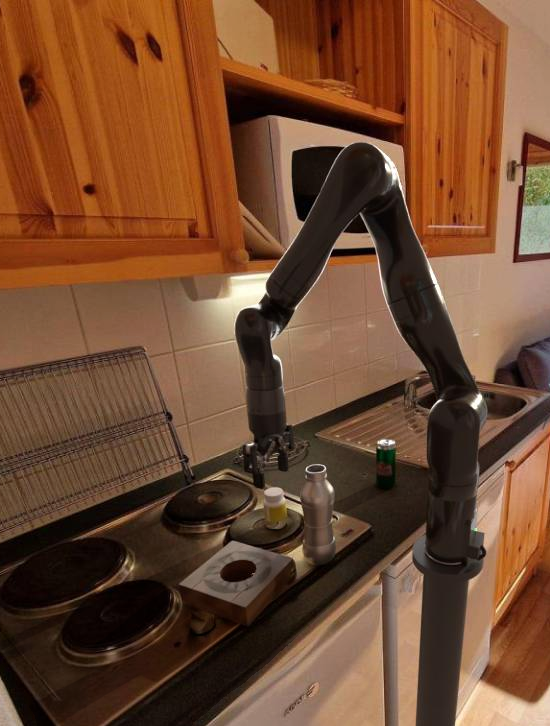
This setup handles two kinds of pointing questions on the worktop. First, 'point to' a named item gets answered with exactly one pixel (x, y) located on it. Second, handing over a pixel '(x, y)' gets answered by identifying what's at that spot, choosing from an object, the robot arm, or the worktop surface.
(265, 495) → the supplement bottle
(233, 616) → the bottle holder
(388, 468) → the soda can
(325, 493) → the silver metal bottle
